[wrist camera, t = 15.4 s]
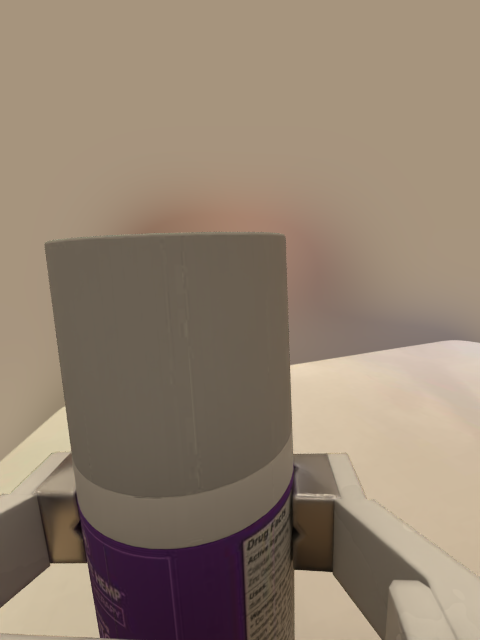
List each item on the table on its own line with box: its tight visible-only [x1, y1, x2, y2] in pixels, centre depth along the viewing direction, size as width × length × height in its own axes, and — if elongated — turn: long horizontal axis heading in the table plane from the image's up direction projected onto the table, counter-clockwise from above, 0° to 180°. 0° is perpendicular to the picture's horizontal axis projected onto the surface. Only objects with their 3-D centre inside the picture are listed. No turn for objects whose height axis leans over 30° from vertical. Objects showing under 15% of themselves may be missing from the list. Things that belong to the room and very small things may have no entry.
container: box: [45, 232, 294, 640], centre depth 8 cm, size 5×5×15 cm
